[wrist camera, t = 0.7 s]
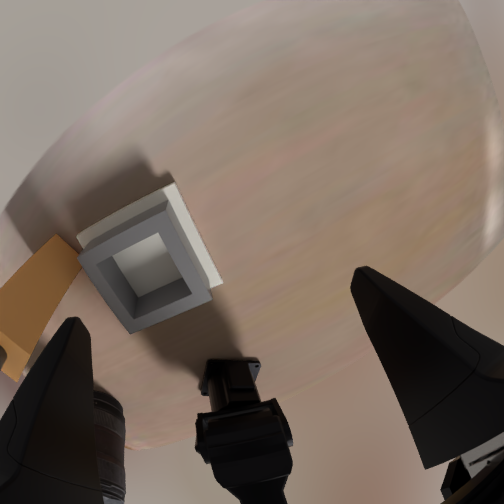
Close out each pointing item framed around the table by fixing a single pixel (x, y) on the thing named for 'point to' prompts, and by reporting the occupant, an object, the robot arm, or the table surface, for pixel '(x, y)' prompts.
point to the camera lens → (110, 446)
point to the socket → (149, 260)
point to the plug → (33, 301)
